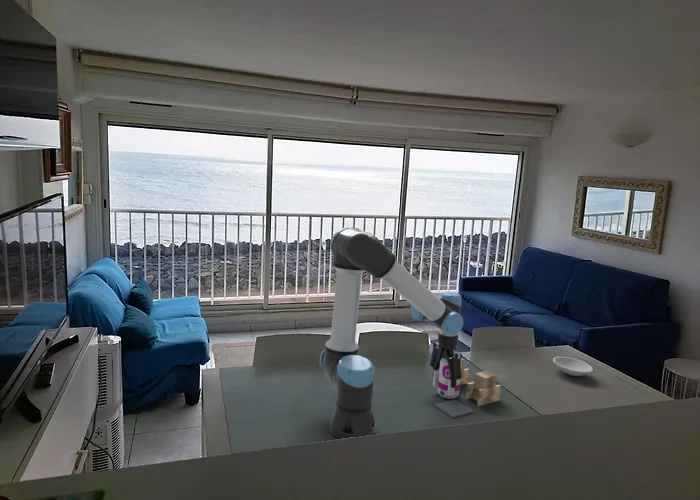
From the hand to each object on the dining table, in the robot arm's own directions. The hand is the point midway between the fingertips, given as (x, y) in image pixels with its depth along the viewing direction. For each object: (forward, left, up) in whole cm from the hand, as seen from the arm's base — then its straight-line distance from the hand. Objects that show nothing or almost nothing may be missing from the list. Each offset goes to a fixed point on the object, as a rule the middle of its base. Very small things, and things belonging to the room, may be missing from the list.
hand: (443, 390), depth 188 cm
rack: (+13, 0, -2) cm, 13 cm away
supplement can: (+3, 0, -3) cm, 4 cm away
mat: (-3, -10, -2) cm, 11 cm away
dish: (+68, -7, -3) cm, 68 cm away
